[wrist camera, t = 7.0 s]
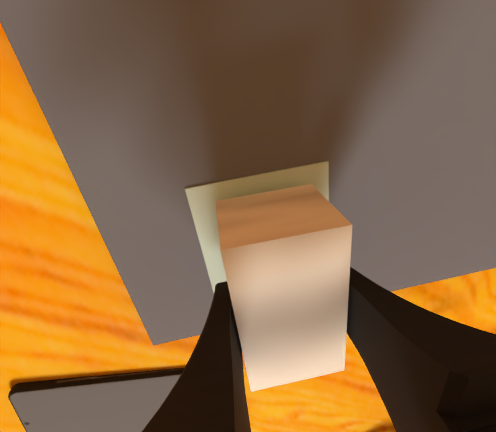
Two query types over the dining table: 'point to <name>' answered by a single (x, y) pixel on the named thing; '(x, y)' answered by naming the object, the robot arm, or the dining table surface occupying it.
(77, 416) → the smartphone
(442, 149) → the rubber mat
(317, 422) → the dining table surface
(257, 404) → the dining table surface
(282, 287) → the birch block
